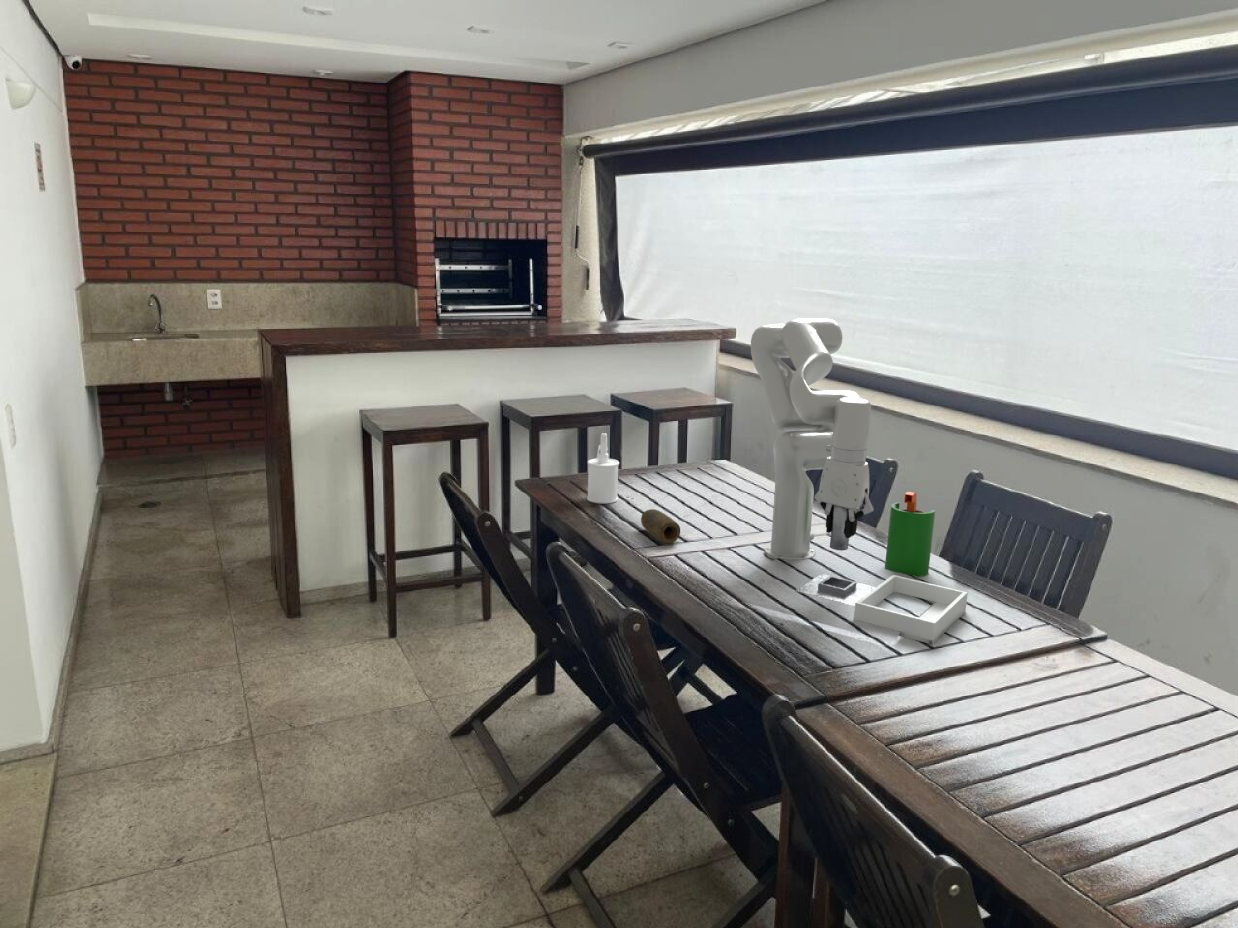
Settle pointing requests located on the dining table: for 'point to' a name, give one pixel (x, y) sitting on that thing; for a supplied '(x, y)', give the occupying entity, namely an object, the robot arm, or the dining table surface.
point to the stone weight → (660, 526)
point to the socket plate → (836, 589)
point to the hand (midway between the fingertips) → (840, 533)
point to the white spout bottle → (602, 476)
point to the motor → (909, 538)
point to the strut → (839, 528)
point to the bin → (918, 628)
